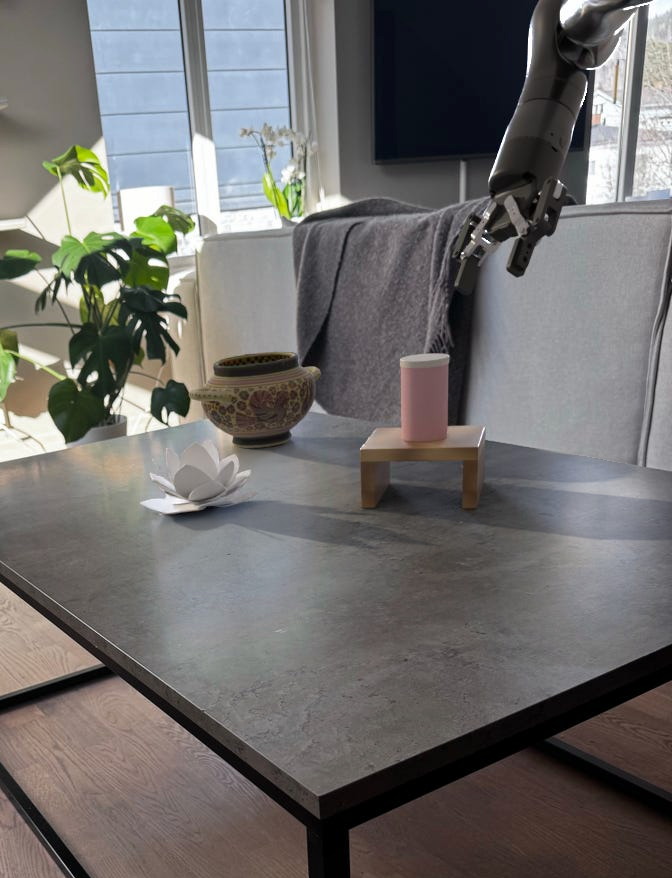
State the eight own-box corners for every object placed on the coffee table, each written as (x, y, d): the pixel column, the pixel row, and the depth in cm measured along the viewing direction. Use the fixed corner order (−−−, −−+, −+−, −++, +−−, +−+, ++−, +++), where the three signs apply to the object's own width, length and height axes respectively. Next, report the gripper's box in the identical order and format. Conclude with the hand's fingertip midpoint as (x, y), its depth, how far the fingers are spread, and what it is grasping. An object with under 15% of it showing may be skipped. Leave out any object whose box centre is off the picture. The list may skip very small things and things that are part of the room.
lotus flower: (116, 514, 115) (112, 443, 112) (200, 497, 125) (197, 432, 122) (197, 525, 105) (194, 448, 102) (281, 506, 115) (280, 435, 112)
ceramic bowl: (299, 438, 157) (280, 349, 154) (365, 423, 141) (346, 324, 138) (177, 469, 146) (154, 374, 143) (234, 456, 131) (210, 350, 128)
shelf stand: (484, 482, 112) (485, 424, 109) (476, 508, 103) (478, 446, 100) (377, 482, 117) (376, 427, 114) (361, 508, 107) (359, 449, 104)
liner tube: (450, 430, 108) (451, 352, 104) (445, 441, 104) (446, 359, 100) (404, 432, 110) (403, 354, 106) (397, 442, 105) (396, 362, 102)
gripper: (466, 160, 112) (423, 282, 111) (557, 111, 99) (509, 249, 98) (509, 193, 115) (468, 311, 114) (602, 149, 102) (556, 283, 101)
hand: (487, 282), depth 106 cm, fingers open, 8 cm apart
